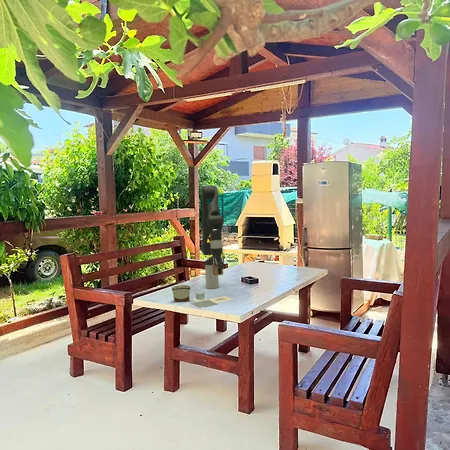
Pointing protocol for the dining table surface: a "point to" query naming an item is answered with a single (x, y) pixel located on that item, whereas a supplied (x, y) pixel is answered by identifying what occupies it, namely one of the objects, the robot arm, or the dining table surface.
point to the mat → (204, 303)
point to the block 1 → (200, 296)
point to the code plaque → (220, 299)
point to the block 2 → (216, 270)
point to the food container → (181, 293)
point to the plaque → (199, 300)
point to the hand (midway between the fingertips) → (217, 273)
